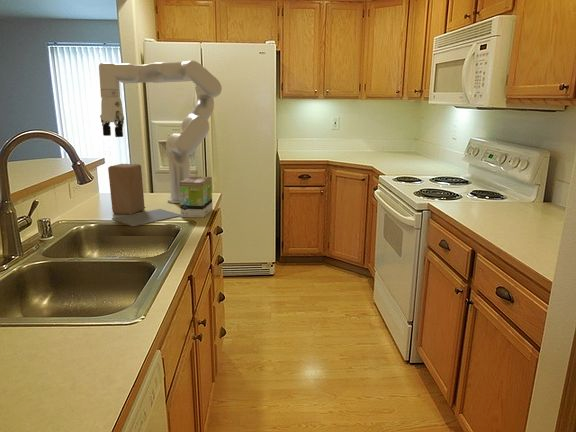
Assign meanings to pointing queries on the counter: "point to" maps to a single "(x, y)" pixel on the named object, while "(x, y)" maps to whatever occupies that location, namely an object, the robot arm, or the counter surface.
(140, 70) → the robot arm
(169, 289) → the counter surface
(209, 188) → the tea box
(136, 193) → the block
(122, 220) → the mat
